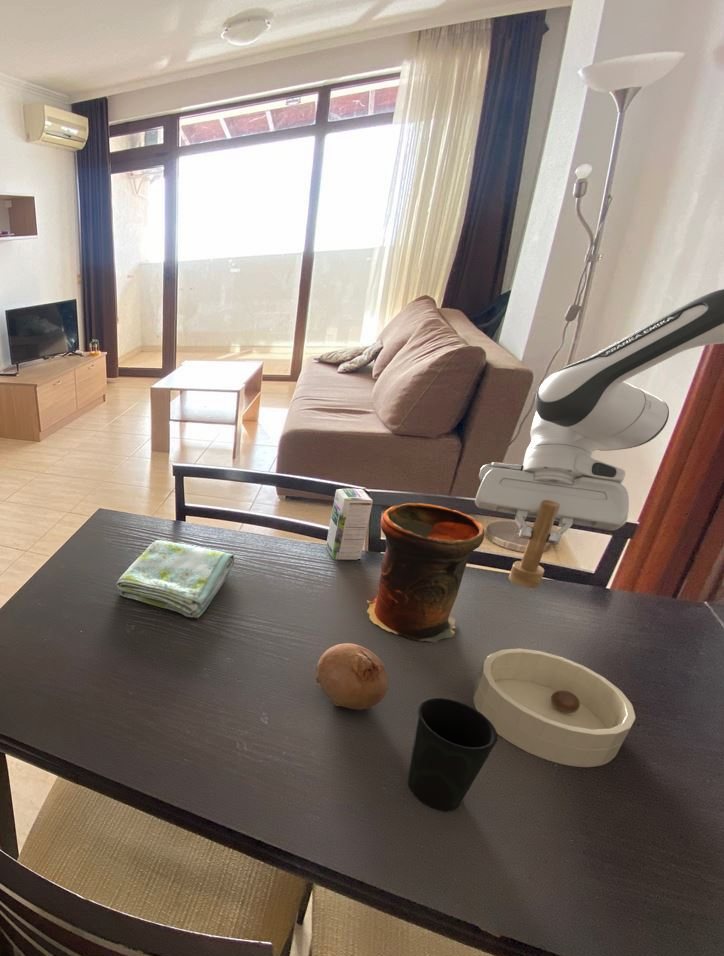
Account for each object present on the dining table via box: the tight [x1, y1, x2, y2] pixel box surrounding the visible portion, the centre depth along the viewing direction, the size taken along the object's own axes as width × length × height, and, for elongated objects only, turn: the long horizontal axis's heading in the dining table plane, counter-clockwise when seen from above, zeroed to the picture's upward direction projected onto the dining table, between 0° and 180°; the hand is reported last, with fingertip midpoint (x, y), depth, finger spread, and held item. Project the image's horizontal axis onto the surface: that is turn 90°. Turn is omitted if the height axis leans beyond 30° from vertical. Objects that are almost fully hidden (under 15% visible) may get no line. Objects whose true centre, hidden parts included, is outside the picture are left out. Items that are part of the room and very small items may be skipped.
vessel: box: [366, 502, 486, 643], centre depth 93 cm, size 14×14×20 cm
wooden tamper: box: [508, 500, 560, 589], centre depth 95 cm, size 4×4×16 cm
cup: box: [407, 697, 498, 812], centre depth 65 cm, size 8×8×12 cm
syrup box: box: [325, 488, 374, 561], centre depth 115 cm, size 6×6×14 cm
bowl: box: [472, 648, 637, 768], centre depth 75 cm, size 16×16×6 cm
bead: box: [551, 690, 580, 713], centre depth 76 cm, size 3×3×3 cm
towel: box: [115, 539, 235, 619], centre depth 111 cm, size 18×21×5 cm
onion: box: [315, 642, 389, 711], centre depth 80 cm, size 10×9×10 cm
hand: (538, 540), depth 94 cm, fingers closed on wooden tamper, 2 cm apart
